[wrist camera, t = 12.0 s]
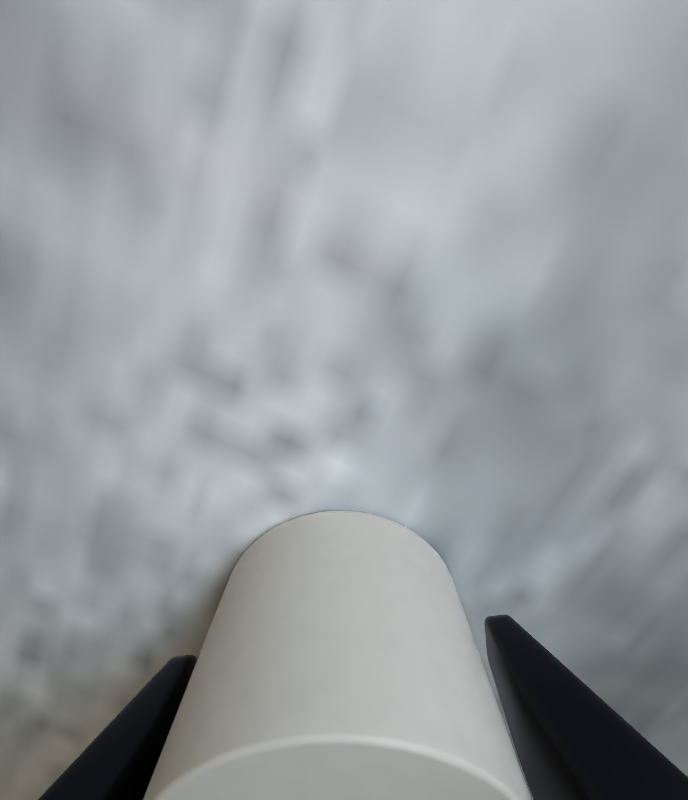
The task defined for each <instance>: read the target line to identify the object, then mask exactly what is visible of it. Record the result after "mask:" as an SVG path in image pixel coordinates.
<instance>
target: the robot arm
mask: <svg viewBox="0 0 688 800" xmlns="http://www.w3.org/2000/svg"><path fill="white" fill-rule="evenodd" d="M485 635H486V647H487V655H488V660H489V664H490V668H491V671H492V674H493V677H494V681H495V684H496V687H497V690H498V693H499V697H500V700H501V703H502V706H503V710H504V713H505V716H506V719H507V723H508V726H509V729H510V732H511V736H512V739H513V742H514V745H515V748H516V752H517V755H518V758H519V761H520V763H521V766H522V769H523V772H524V775H525V777H526V780H527V782H528V785H529V788H530V790H531V792H532V795H533V797H534V800H688V777H687V776H686V775H685V774H684V773H683V772H681V771H680V770H679V769H678V768H677V767H676V766H675V765H674V764H673V763H671V762H670V761H669V760H668V759H667V758H666V757H665V756H664V755H663V754H662V753H660V752H659V751H658V750H657V749H656V748H655V747H654V746H653V745H652V744H650V743H649V742H648V741H647V740H646V739H645V738H644V737H643V736H642V735H641V734H639V733H638V732H637V731H636V730H635V729H634V728H633V727H632V726H631V725H629V724H628V723H627V722H626V721H625V720H624V719H623V718H622V717H621V716H620V715H618V714H617V713H616V712H615V711H614V710H613V709H612V708H611V707H610V706H608V705H607V704H606V703H605V702H604V701H603V700H602V699H601V698H600V697H599V696H597V695H596V694H595V693H594V692H593V691H592V690H591V689H590V688H589V687H587V686H586V685H585V684H584V683H583V682H582V681H581V680H580V679H579V678H578V677H576V676H575V675H574V674H573V673H572V672H571V671H570V670H569V669H568V668H566V667H565V666H564V665H563V664H562V663H561V662H560V661H559V660H558V659H557V658H555V657H554V656H553V655H552V654H551V653H550V652H549V651H548V650H547V649H545V648H544V647H543V646H542V645H541V644H540V643H539V642H538V641H537V640H536V639H534V638H533V637H532V636H531V635H530V634H529V633H528V632H527V631H526V630H524V629H523V628H522V627H521V626H520V625H519V624H518V623H517V622H516V621H515V620H513V619H512V618H511V617H510V616H508V615H496V616H489V617H487V618H486V619H485ZM196 662H197V658H196V657H195V656H194V655H186V656H178V657H174V658H172V659H171V660H169V661H168V662H167V663H166V664H165V666H164V667H163V668H162V669H161V670H160V671H159V672H158V673H157V674H156V675H155V676H154V677H153V678H152V679H151V680H150V681H149V682H148V684H147V685H146V686H145V687H144V688H143V689H142V690H141V691H140V692H139V693H138V694H137V695H136V696H135V697H134V698H133V699H132V701H131V702H130V703H129V704H128V705H127V706H126V707H125V708H124V709H123V710H122V711H121V712H120V713H119V714H118V715H117V716H116V718H115V719H114V720H113V721H112V722H111V723H110V724H109V725H108V726H107V727H106V728H105V729H104V730H103V731H102V732H101V733H100V734H99V736H98V737H97V738H96V739H95V740H94V741H93V742H92V743H91V744H90V745H89V746H88V747H87V748H86V749H85V750H84V751H83V753H82V754H81V755H80V756H79V757H78V758H77V759H76V760H75V761H74V762H73V763H72V764H71V765H70V766H69V767H68V768H67V769H66V771H65V772H64V773H63V774H62V775H61V776H60V777H59V778H58V779H57V780H56V781H55V782H54V783H53V784H52V785H51V786H50V788H49V789H48V790H47V791H46V792H45V793H44V794H43V795H42V796H41V797H40V798H39V799H38V800H143V798H144V796H145V793H146V791H147V788H148V785H149V783H150V780H151V778H152V775H153V773H154V770H155V768H156V765H157V762H158V760H159V757H160V755H161V752H162V750H163V747H164V744H165V742H166V739H167V737H168V734H169V732H170V729H171V726H172V724H173V721H174V719H175V716H176V714H177V711H178V709H179V706H180V703H181V701H182V698H183V696H184V693H185V691H186V688H187V685H188V683H189V680H190V678H191V675H192V673H193V670H194V667H195V665H196Z"/></svg>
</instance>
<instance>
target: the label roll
mask: <svg viewBox="0 0 688 800" xmlns="http://www.w3.org/2000/svg"><path fill="white" fill-rule="evenodd" d="M143 800H532V797H531V795H530V792H529V789H528V786H527V784H526V781H525V778H524V775H523V773H522V770H521V767H520V764H519V762H518V759H517V756H516V753H515V750H514V748H513V745H512V742H511V739H510V737H509V734H508V731H507V728H506V726H505V723H504V720H503V717H502V715H501V712H500V709H499V706H498V704H497V701H496V698H495V695H494V692H493V690H492V687H491V684H490V681H489V679H488V676H487V673H486V670H485V668H484V665H483V662H482V659H481V657H480V654H479V651H478V648H477V645H476V643H475V640H474V637H473V634H472V632H471V629H470V626H469V623H468V621H467V618H466V615H465V612H464V610H463V607H462V604H461V601H460V599H459V596H458V593H457V590H456V587H455V585H454V582H453V579H452V577H451V574H450V572H449V570H448V568H447V566H446V564H445V563H444V562H443V560H442V559H441V557H440V556H439V554H438V553H437V552H436V551H435V550H434V549H433V548H432V547H431V546H430V545H429V543H427V542H426V541H425V540H424V539H422V538H421V537H420V536H419V535H417V534H416V533H415V532H413V531H411V530H410V529H408V528H406V527H405V526H403V525H401V524H399V523H396V522H394V521H392V520H390V519H387V518H384V517H380V516H377V515H374V514H369V513H363V512H358V511H343V510H340V511H324V512H318V513H312V514H307V515H304V516H300V517H297V518H294V519H291V520H289V521H287V522H284V523H282V524H280V525H278V526H276V527H275V528H273V529H271V530H270V531H268V532H266V533H265V534H264V535H262V536H261V537H260V538H259V539H257V540H256V541H255V542H254V543H253V544H252V545H251V546H250V547H249V548H248V549H247V550H246V551H245V552H244V553H243V555H242V556H241V558H240V559H239V560H238V562H237V563H236V565H235V567H234V569H233V571H232V573H231V575H230V578H229V580H228V583H227V585H226V588H225V590H224V593H223V596H222V598H221V601H220V603H219V606H218V608H217V611H216V614H215V616H214V619H213V621H212V624H211V626H210V629H209V632H208V634H207V637H206V639H205V642H204V644H203V647H202V649H201V652H200V655H199V657H198V660H197V662H196V665H195V667H194V670H193V673H192V675H191V678H190V680H189V683H188V685H187V688H186V691H185V693H184V696H183V698H182V701H181V703H180V706H179V709H178V711H177V714H176V716H175V719H174V721H173V724H172V726H171V729H170V732H169V734H168V737H167V739H166V742H165V744H164V747H163V750H162V752H161V755H160V757H159V760H158V762H157V765H156V768H155V770H154V773H153V775H152V778H151V780H150V783H149V785H148V788H147V791H146V793H145V796H144V798H143Z"/></svg>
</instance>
